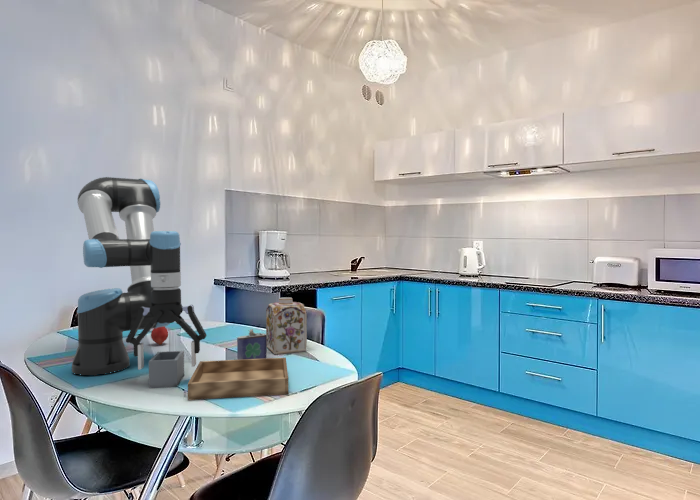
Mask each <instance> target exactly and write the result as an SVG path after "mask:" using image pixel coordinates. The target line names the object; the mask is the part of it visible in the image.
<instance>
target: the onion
mask: <svg viewBox="0 0 700 500" xmlns="http://www.w3.org/2000/svg"><path fill="white" fill-rule="evenodd" d="M150 338H151V340H152V341H153V342H154V343H155V344H157V345H159V346H160V345H162V344H163V343H164V342H166V340H168V338H169V331H168V329H167V327H166V326H164V327H158V328H152V330H151V333H150Z"/></svg>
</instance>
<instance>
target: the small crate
mask: <svg viewBox="0 0 700 500" xmlns="http://www.w3.org/2000/svg"><path fill="white" fill-rule="evenodd" d="M184 377H185V351H184V350H172V351H171V350H169V351H168V350H166V351H157V352H156V353H155V354H154V355H152V357H151V359H149V360H148V388H149V389H155V388H156V389H157V388H160V389H161V388H177V387H178V386H179V384H180V383H181V382H182V380H183V378H184Z"/></svg>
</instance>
